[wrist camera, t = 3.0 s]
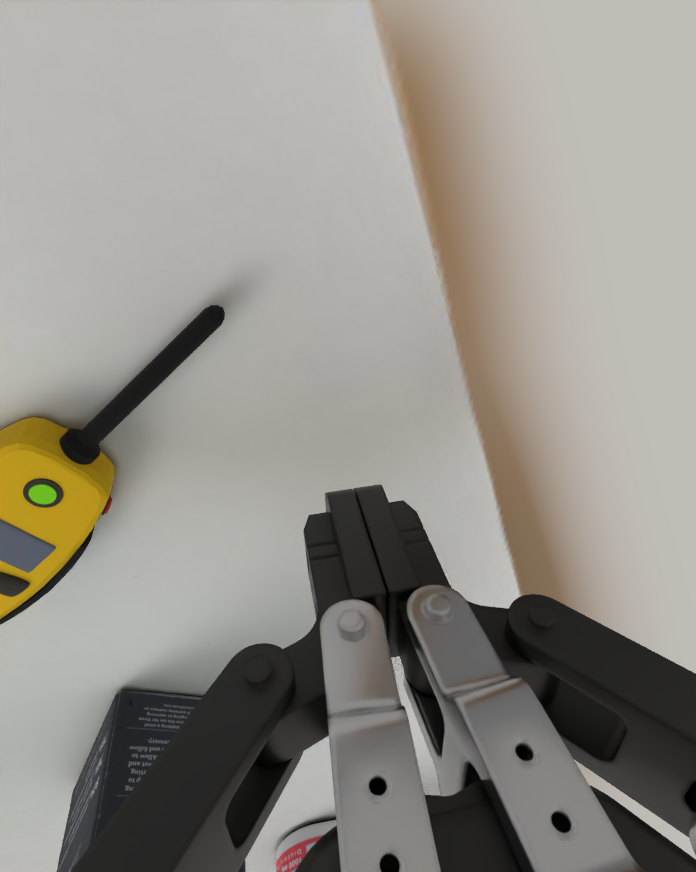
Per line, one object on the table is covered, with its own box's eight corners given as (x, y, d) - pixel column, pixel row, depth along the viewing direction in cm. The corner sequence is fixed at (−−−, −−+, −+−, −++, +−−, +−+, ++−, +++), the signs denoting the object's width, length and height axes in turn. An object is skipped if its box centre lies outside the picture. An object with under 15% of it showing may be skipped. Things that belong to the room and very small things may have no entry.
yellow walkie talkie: (-206, 618, 15) (138, 250, 12) (-167, 568, 17) (148, 229, 13) (-35, 674, 18) (291, 385, 14) (-15, 626, 20) (284, 355, 16)
